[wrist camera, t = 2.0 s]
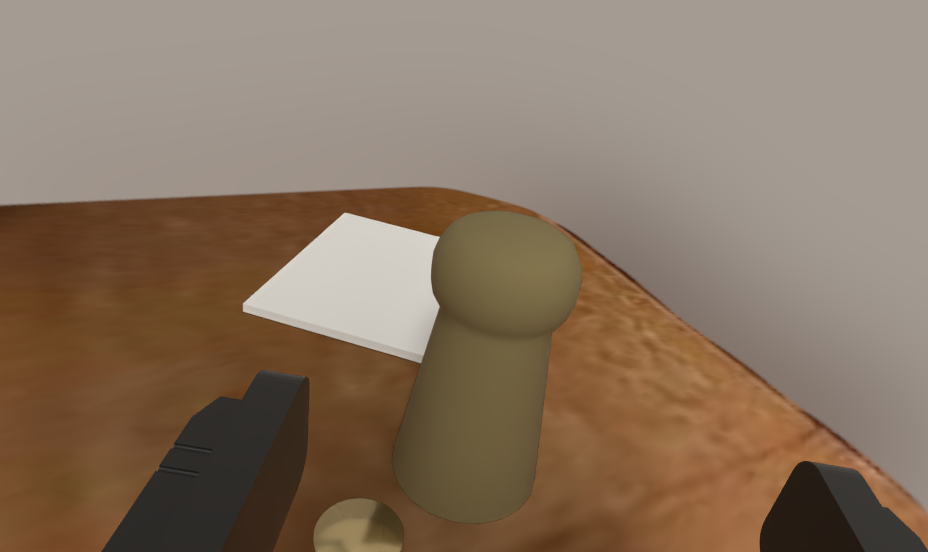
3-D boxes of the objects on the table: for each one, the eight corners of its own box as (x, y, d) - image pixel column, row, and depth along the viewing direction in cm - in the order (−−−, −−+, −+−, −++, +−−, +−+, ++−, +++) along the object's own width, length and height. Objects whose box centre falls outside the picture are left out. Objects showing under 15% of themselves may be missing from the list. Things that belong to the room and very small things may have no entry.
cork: (531, 539, 23) (611, 292, 18) (374, 503, 24) (407, 249, 18) (537, 428, 29) (600, 210, 23) (409, 400, 29) (442, 178, 24)
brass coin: (298, 568, 21) (298, 560, 21) (332, 496, 24) (332, 489, 24) (388, 593, 21) (389, 585, 21) (412, 517, 24) (413, 510, 24)
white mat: (242, 311, 33) (243, 303, 32) (344, 219, 44) (344, 212, 44) (481, 380, 31) (483, 372, 31) (523, 265, 42) (525, 259, 42)
